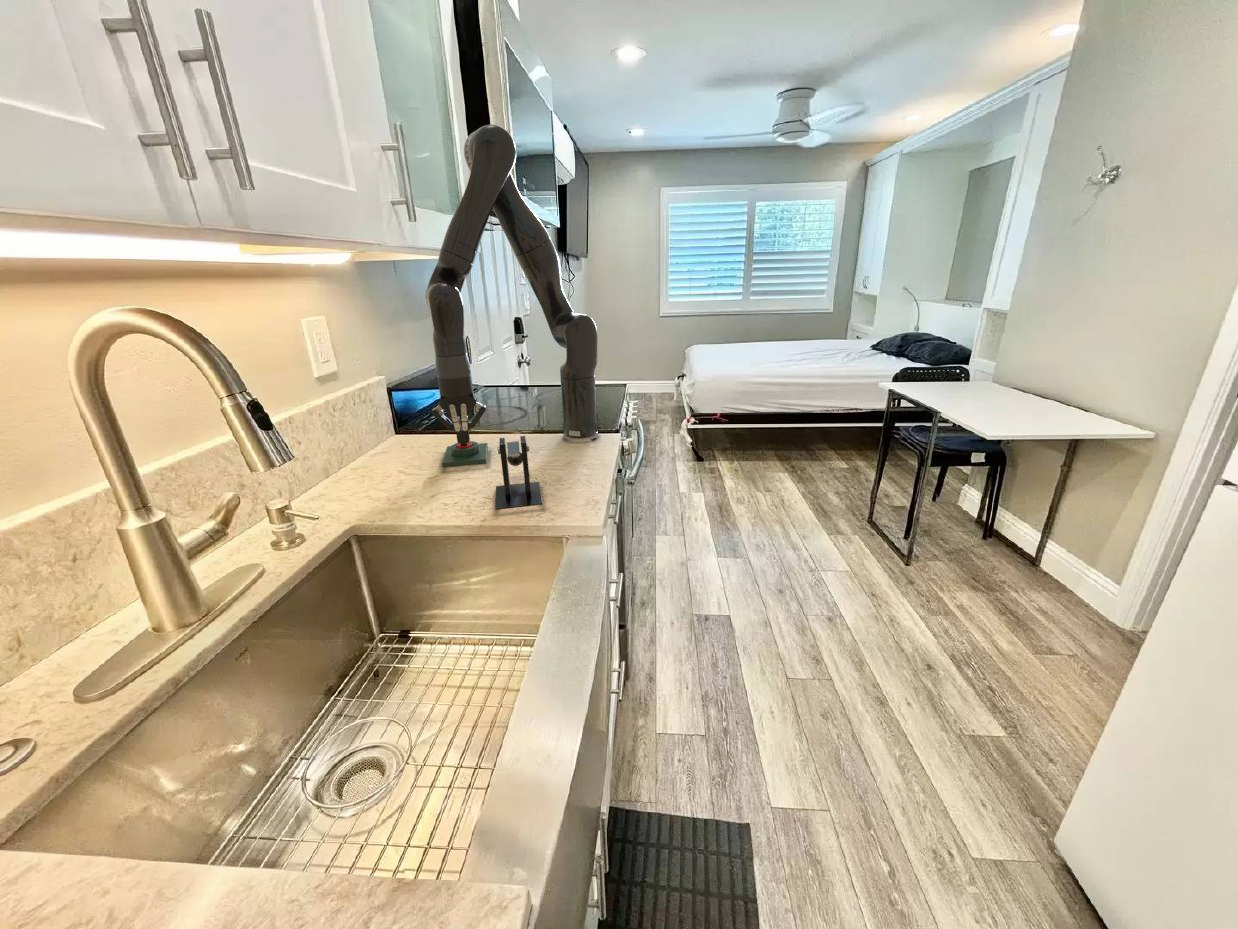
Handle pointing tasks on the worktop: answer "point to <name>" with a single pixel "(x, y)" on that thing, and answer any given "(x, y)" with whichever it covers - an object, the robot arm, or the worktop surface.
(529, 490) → the bracket
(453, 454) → the button box
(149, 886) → the worktop surface
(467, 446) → the button
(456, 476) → the worktop surface
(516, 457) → the lever
